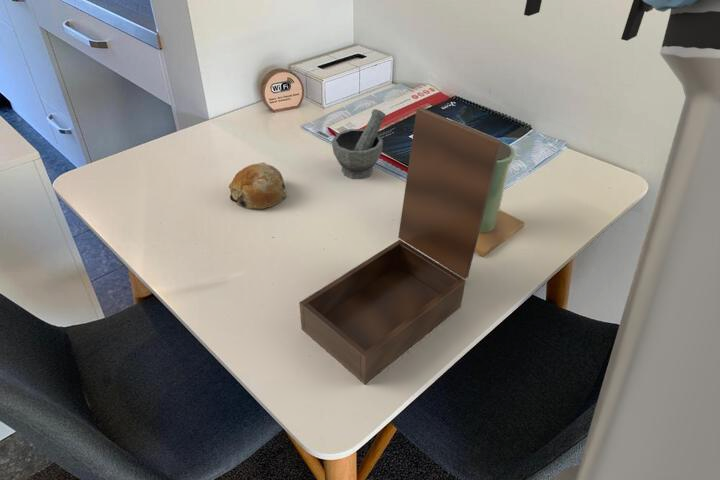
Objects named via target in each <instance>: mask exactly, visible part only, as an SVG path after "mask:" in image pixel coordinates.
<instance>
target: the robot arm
mask: <svg viewBox="0 0 720 480" xmlns="http://www.w3.org/2000/svg"><path fill="white" fill-rule="evenodd" d="M542 2H543V1H542V0H526V2H525V7H524V12H523V15H524V16H527V17H529V16H533V15H536V14H538V13H540V11H541V6H542ZM631 3H632V4H631V6H630V10H629V12H628V16H627V19H626V23H625V26H624V28H623V30H622V31H623V32H622V34H621V38H620V39H621V40H623V41H626V42H627V41H630V40H632V39H633V38H636V37H638V33H639V31H640V27H641V25H642V21H643V18H644V15H645V13H648V12H650V11H653V10H656V11H658V12H661V13H664V12H667V11H668V10H670V12H669V18H668V20H667V24H666V28H665V33H664V36H663V40H662V44H661V48H660V50H659V55H660V56H661V57H662V59H663V60H664V61H665V63H666V65H667V66H668V68H669V69H670V70H671V71H672V73H673V74H674V76H675V77H676V79H677V80H678V81H679V82H680V84H681V86H682V90H683V94H684V95H685V96H684V97H685V98H684V102H683V104H682V108H681V112H680V115H679V117H678V118H679V119H678V122H677V125H676V129H675V133H674V136H673V138H672V142H671V146H670V150H669V153H668V156H667V160H666V162H665V167H664V170H663V173H662V177H661V181H660V184H659V188H658V191H657V194H656V198H655V200H654V205H653V208H652V211H651V215H650V218H649V222H648V226H647V229H646V232H645V236H644V239H643V242H642V246H641V250H640V253H639V257H638V260H637V264H636V267H635V270H634V274H633V277H632V281H631V283H630V286H629V287H630V288H629V290H628V295H627V298H626V301H625V304H624V307H623V311H622V315H621V319H620V322H619V326H618V329H617V333H616V336H615V339H614V343H613V346H612V349H611V354H610V357H609V360H608V365H607V367H606V370H605V374H604V377H603V381H602V384H601V388H600V391H599V395H598V398H597V401H596V405H595V408H594V412H593V415H592V420H591V422H590V426H589V429H588V432H587V436H586V440H585V442H584V447H583V449H582V454H581V457H580V460H579V464H576V465H573V466H570V467H568V468H565V469H563V470H561V471H559V473H557V474H556V475H554V476H553V478H552V479H551V480H720V0H633V1H632V2H631Z"/></svg>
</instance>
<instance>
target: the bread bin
mask: <svg viewBox="0 0 720 480" xmlns="http://www.w3.org/2000/svg"><path fill="white" fill-rule="evenodd" d="M466 282H467V280H466V279H464V278H462V277H461V276H459V275H458V274H456V273H454V272H453V271H451V270H449V269H448V268H446V267H445V266H443V265H441V264H440V263H438V262H437V261H435V260H433V259H432V258H430V257H429V256H427V255H425V254H424V253H422V252H420V251H419V250H417V249H416V248H414V247H412V246H411V245H409V244H408V243H406V242H404V241H403V240H401V239H398V240H396V241H394V242H393V243H392V244H390V245H388V246H387V247H385V248H384V249H382V250H380V251H379V252H377V253H375V254H374V255H372V256H371V257H369V258H367V259H365V260H364V261H363V262H361V263H359V264H358V265H357V266H355V267H353V268H352V269H350V270H349V271H347V272H346V273H344V274H342V275H341V276H339V277H338V278H336V279H334V280H333V281H331V282H329V283H328V284H326V285H325V286H323V287H322V288H320V289H318V290H316V291H315V292H314V293H312V294H310V295H309V296H307V297H306V298H304V299H302V300H300V301H299V315H300V316H299V317H300V327H301V330H302V331H303V332H304V333H305V334H306V335H307V336H309V337H310V338H311V340H313V341H314V342H315V343H316V344H318V345H319V346H320V348H322V349H323V350H324V351H325V352H327V353H328V354H329V355H330V356H331V357H333V358H334V359H335V360H336V361H337V362H338V363H340V365H342V366H343V367H344V369H346V370H348V371H349V372H350V373H351V374H352V375H353V376H354V377H355V378H357V379H358V380H359V381H360V382H361V383H362V384H363V385H367V384H368V383H369V382H371V380H373V379H374V378H375V377H377V376H378V375H379V374H380V373H381V372H383V371H384V370H385V369H387V367H388V366H391V364H392V363H394V362H395V361H396V360H397V359H399V358H400V357H401V356H402V355H404V354H405V353H407V351H408V350H409V349H412V347H413V346H415V345H416V344H417V343H419V342H420V341H421V340H422V339H423V338H425V336H427V335H428V334H430V333H431V332H433V330H434V329H436V328H437V327H438V326H439V325H441V324H442V323H443V322H444V321H445V320H447V319H448V318H449V317H450V316H452V315H454V313H455V312H456V311H458V310H459V309H460V308H461V307H462V302H463V298H464V291H465V288H466V287H465V286H466Z"/></svg>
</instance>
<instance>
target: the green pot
mask: <svg viewBox="0 0 720 480" xmlns="http://www.w3.org/2000/svg"><path fill="white" fill-rule="evenodd" d="M501 141H502V144H501V148H500V152H499V156H498V160H497V164H496V168H495V172H494V176H493V180H492V184H491V188H490V192H489V196H488V200H487V204H486V207H485V211H484V215H483V219H482V223H481V227H480V231H479V233H487V232H490V231H492V230H493V229H494V228H495V227H496V224H497V220H498V215H499V211H500V210H501V207H502V201H503V197H504V192H505V188H506V184H507V179H508V175H509V169H510V166H511V164H512V163H513V161H514V159H515V155H516V152H515V149H514V147H512V146H511V145H510V144H509V143H507V142H505V141H503V140H501Z"/></svg>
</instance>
